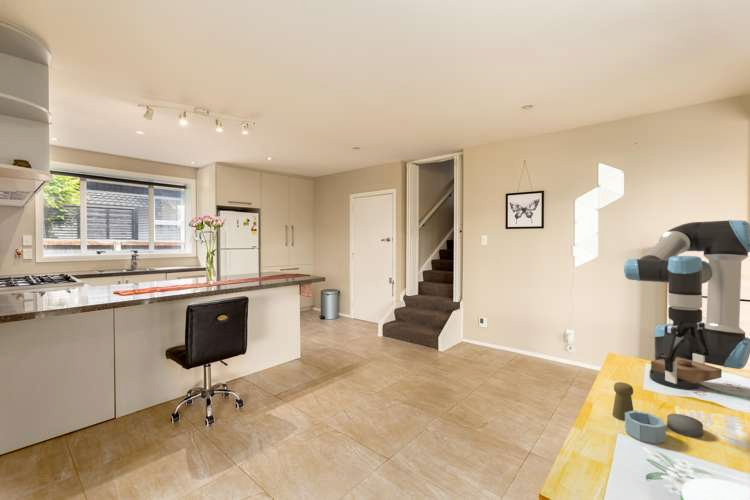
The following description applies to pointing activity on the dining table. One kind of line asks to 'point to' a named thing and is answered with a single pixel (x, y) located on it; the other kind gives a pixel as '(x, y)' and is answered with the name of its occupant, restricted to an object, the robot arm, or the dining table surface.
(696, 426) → the grey flattened dome
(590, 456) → the dining table surface
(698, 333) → the robot arm
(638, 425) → the bowl
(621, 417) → the pepper shaker
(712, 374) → the lid
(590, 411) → the dining table surface
